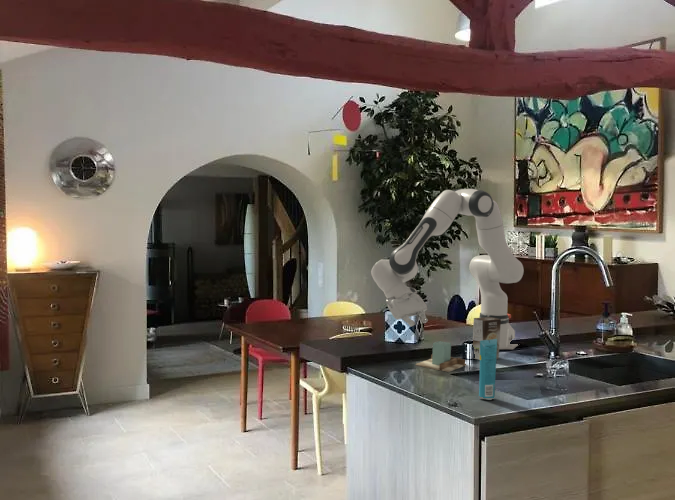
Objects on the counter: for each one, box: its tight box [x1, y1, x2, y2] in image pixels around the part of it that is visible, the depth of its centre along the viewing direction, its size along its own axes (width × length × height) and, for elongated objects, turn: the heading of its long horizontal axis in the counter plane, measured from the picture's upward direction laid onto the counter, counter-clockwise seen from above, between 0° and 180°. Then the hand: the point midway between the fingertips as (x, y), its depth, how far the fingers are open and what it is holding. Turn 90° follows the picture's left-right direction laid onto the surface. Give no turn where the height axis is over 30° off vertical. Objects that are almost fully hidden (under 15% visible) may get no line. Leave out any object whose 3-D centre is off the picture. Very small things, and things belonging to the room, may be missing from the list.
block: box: [432, 340, 452, 365], centre depth 271 cm, size 5×5×8 cm
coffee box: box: [471, 317, 501, 361], centre depth 285 cm, size 9×6×16 cm
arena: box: [415, 353, 467, 373], centre depth 271 cm, size 14×14×2 cm
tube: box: [478, 339, 497, 398], centre depth 228 cm, size 7×5×19 cm, turn 129°
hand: (419, 323), depth 276 cm, fingers open, 8 cm apart
